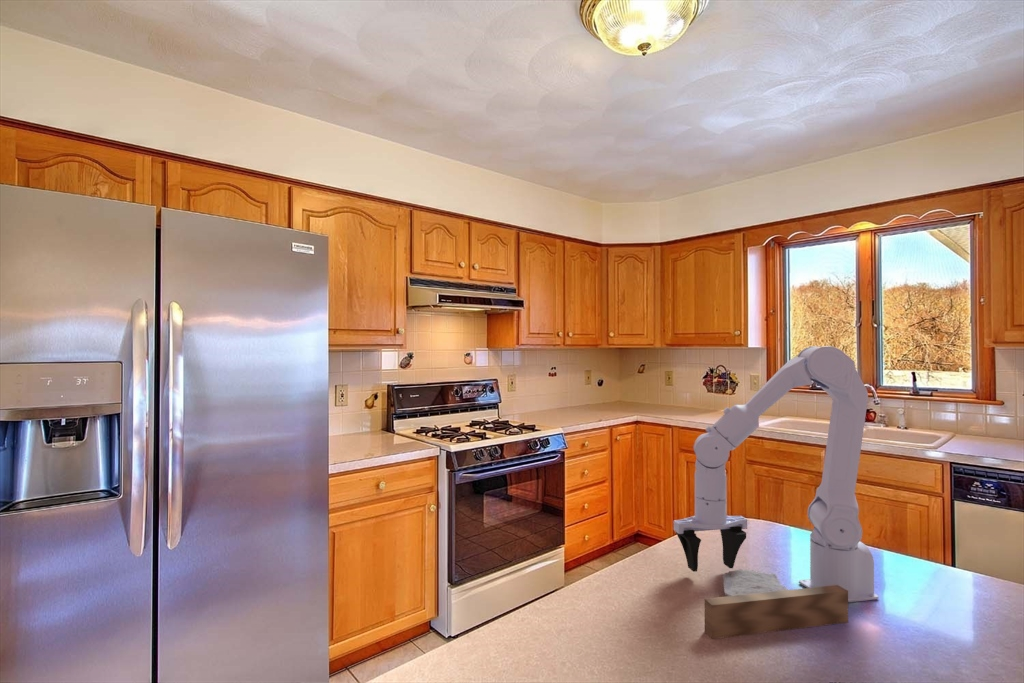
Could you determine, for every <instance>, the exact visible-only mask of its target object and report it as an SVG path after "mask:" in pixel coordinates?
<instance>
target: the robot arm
mask: <svg viewBox="0 0 1024 683" xmlns="http://www.w3.org/2000/svg"><path fill="white" fill-rule="evenodd" d="M814 383H815V384H816V385H818V386H819V387H820V388H821V389H822V390H823V391H824V392H825V393H826V394H827V395H828V396H829V397H830V398H831V399H832V404H831V409H830V410H831V411H830V418H829V425H828V430H827V431H828V433H827V440H826V446H825V447H826V448H825V454H824V460H823V468H822V474H821V475H822V476H821V483H820V484H819V486H818V487H817V489H816V490H815V496H814V498H813V500H812V501H811V503H809V505H808V508H807V517H808V520H809V522H810V524H812V526H813V530H812V531H811V533H810V534H809V535H810V536H809V537H810V538H809V540H810V544H809V545H810V546H809V547H810V549H809V550H810V551H809V554H810V555H809V556H810V558H809V559H810V561H809V562H810V564H809V566H810V567H809V568H810V573H809V574H810V578H808V579H799V580H798V584H800V585H802V586H803V587H804V588H814V587H823V586H833V585H838V586H840V587H842V588H844V589H846V590H847V591H848V603H854V602H861V601H863V602H864V601H870V600H871V601H873V600H878V599H879V595H878V594H876V593H875V560H874V557H873V554H872V551H871V550H870V548H869V547H868V546H867V545H866V544H865V543H863V542H862V541H861V540H862V537H863V527H862V524H861V523H860V519H859V515H860V514H859V513H860V508H859V504H858V501H857V497H856V487H857V479H858V471H859V465H860V460H861V459H860V458H861V451H862V444H863V437H864V431H865V429H864V428H865V423H866V422H865V421H866V414H867V408H868V403H869V402H868V401H869V392H868V390H867V387H866V386H865V383H863V380H862V378H861V376H860V375H859V373H858V370H857V369H856V363H855V361H854V360H853V359H852V358H851V357H850V356H849V355H847V354H846V353H845V352H844V351H843V350H841V349H839V348H838V347H835V346H832V345H831V346H830V345H824V346H818V345H816V346H815V345H814V346H808V347H806V348H804V349H802V350H800V352H799V353H798V354H797V356H794V357H792V358H791V359H789V360H788V361H787V362H786V363H784V365H782V366H781V368H779V369H778V370H777V372H775V373H774V375H772V376H771V378H769V380H768V381H767V382H766V383H764V384H763V385H762V386H761V388H760V389H759V390H758V391H756V393H755V394H754V395H753V396H752V397H751V398H750V399H748V401H746V403H745V404H734V405H732V406H731V407H728V406H727V407H725V408H724V409H723V411H722V412H723V415H722V416H721V417H720V418H719V419H718V420H717V421H716V422H714V424H712V425H711V426H710V425H708V426H706V427H705V432H706V433H702V434H700V435H699V436H697V438H696V439H695V441H694V444H693V446H692V448H693V451H694V454H695V457H696V458H695V463H694V466H695V471H694V515H692V516H690V517H689V516H688V517H685V518H681V519H676V520H675V519H674V520H673V531H674V532H675V534H676V535H677V537H678V540H679V542H680V544H681V546H682V549H683V551H684V555H685V558H686V563H687V564H686V565H687V568H688V569H689V570H691V571H692V572H693V573H694V572H695V573H696V572H698V567H699V566H698V565H699V549H700V546H701V545H700V544H701V543H702V539H701V538H699V537H698V536H697V533H695V532H703V531H704V532H705V531H717V530H719V531H720V536H721V542H722V561H723V564H724V566H726V567H728V568H729V569H734V566H735V562H736V558H737V556H738V552H739V550H740V549H741V547H742V544H743V543H744V541H745V540H746V539H747V532H745V531H744V530H748V518H746V517H744V516H742V515H728V513H727V508H728V507H727V504H728V503H727V501H728V500H727V498H728V496H727V495H728V494H727V492H728V490H727V485H728V484H727V479H728V477H727V473H726V463H727V462H728V460H729V457H730V451H733V450H736V449H737V448H738V447H739V446H741V444H742V443H743V442H744V441H745V440H746V439H747V438H748V437H750V436H752V434H753V433H754V432H755V431H756V430H757V429H758V428H760V420H759V418H760V416H762V415H763V414H764V413H765V412H766V411H768V410H769V409H770V408H771V407H772V406H774V404H776V403H777V402H778V401H779V400H780V399H781V398H782V397H784V396H785V395H786V394H787V393H788V392H790V391H791V390H792V389H794V388H799V387H800V388H801V387H805V386H808V385H809V386H811V385H813V384H814Z"/></svg>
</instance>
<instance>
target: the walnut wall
mask: <svg viewBox="0 0 1024 683" xmlns="http://www.w3.org/2000/svg"><path fill="white" fill-rule="evenodd" d="M846 623H849V602H848V591H847V590H846V589H844V588H842V587H840V586H838V585H833V586H823V587H814V588H806V587H803V588H796V589H788V590H784V591H775V592H765V593H755V594H745V595H736V596H726V595H725V596H719V597H718V596H717V597H709V598H708V597H706V598H704V633H706V634H707V635H708V636H709V637H710V638H711V639H713V640H715V639H721V638H723V639H724V638H727V637H728V638H730V637H738V636H747V635H755V634H764V633H772V632H780V631H781V632H782V631H788V630H789V631H790V630H798V629H806V628H814V627H823V626H829V625H838V624H846Z"/></svg>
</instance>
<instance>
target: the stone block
mask: <svg viewBox="0 0 1024 683" xmlns="http://www.w3.org/2000/svg"><path fill="white" fill-rule="evenodd" d="M722 581H723V591H724V595H725V597H726V596H736V595H745V594H755V593H765V592H775V591H784V590H789V589H788V588H787V586H784V585H782V584H781V582H780V580H779V579H778V576H777V575H776V573H773V572H771V573H766V572H762V571H759V570H758V571H756V570H754V569H735V570H728V571H727V572H724V574H723V575H722Z"/></svg>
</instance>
